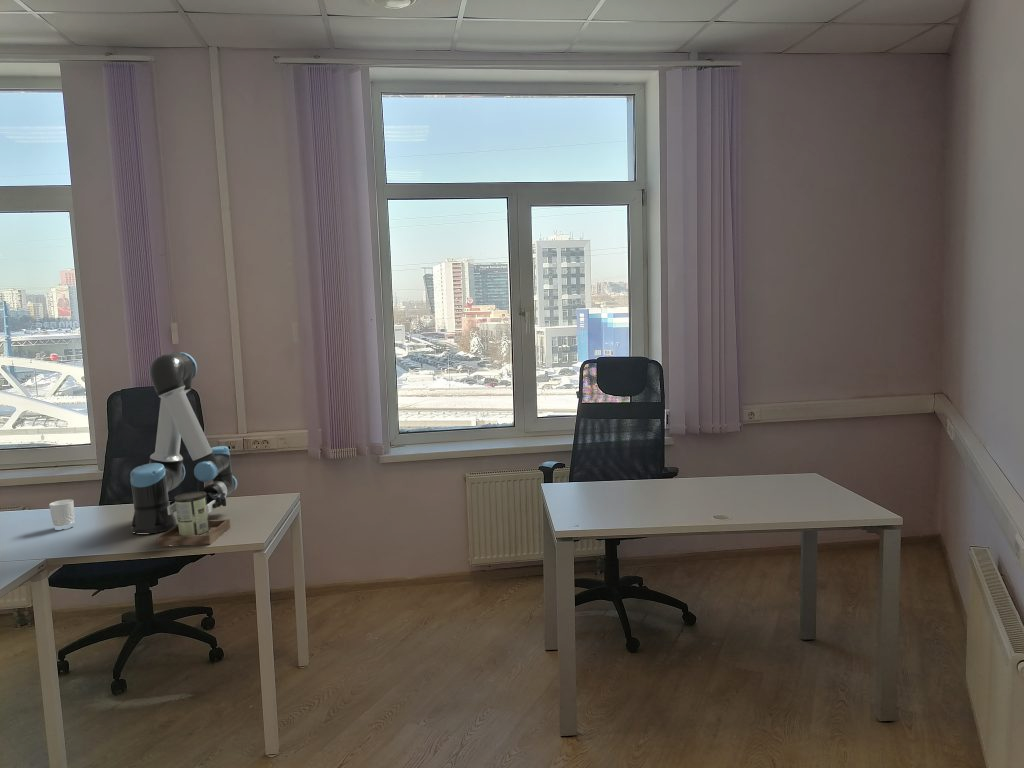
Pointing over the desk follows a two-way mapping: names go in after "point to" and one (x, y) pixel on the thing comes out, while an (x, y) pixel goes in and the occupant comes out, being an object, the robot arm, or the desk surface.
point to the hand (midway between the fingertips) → (188, 510)
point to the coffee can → (192, 513)
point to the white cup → (62, 512)
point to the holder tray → (174, 539)
